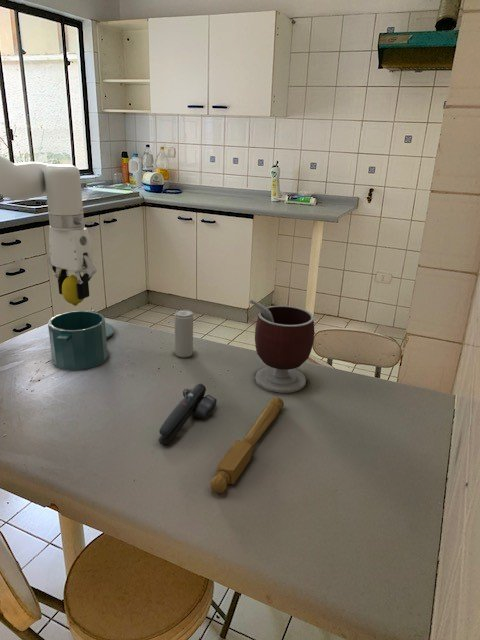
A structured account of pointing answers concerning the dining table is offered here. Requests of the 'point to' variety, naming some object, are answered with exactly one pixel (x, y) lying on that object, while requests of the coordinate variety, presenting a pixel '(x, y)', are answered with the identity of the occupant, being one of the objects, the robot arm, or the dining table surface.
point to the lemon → (70, 290)
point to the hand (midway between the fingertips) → (74, 294)
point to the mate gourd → (283, 346)
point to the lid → (109, 330)
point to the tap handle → (243, 449)
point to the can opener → (187, 411)
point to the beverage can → (183, 333)
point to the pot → (78, 339)
